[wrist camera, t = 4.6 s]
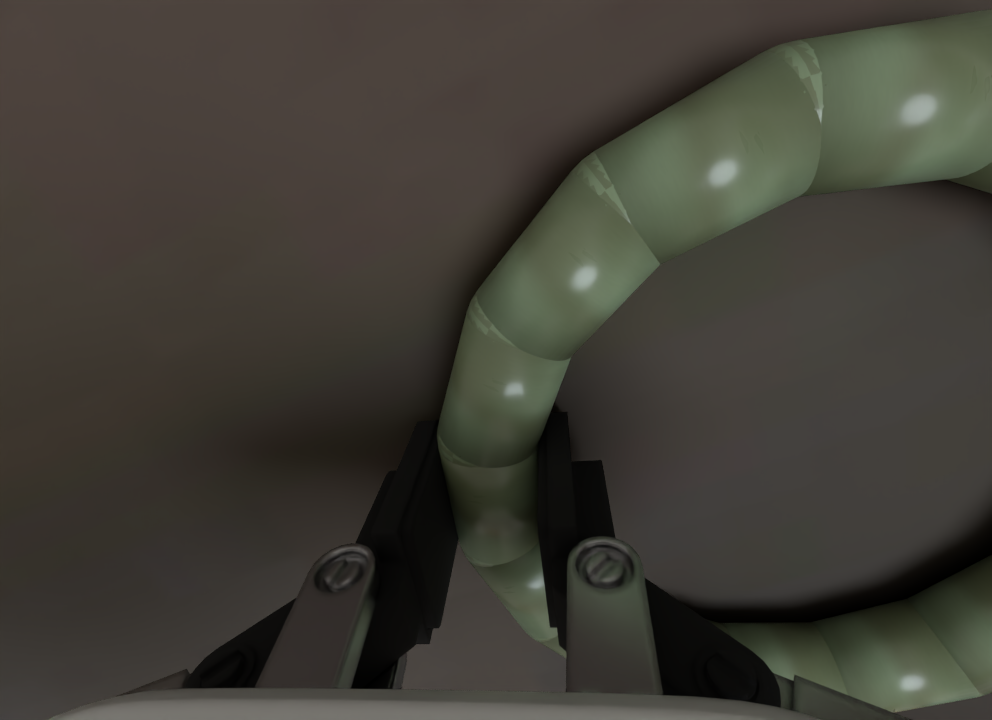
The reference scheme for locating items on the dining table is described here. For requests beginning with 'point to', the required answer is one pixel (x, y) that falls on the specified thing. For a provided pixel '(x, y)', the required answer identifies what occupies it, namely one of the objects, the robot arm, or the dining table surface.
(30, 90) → the dining table surface
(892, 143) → the hoop
